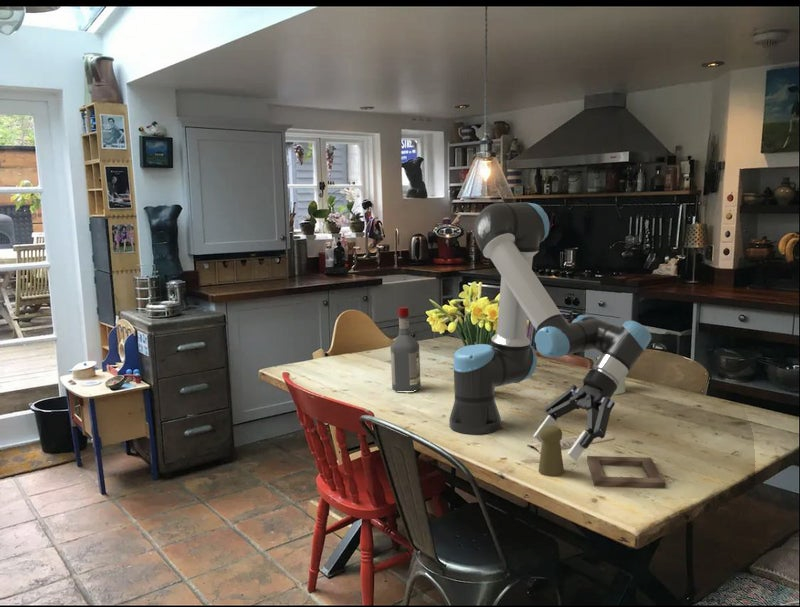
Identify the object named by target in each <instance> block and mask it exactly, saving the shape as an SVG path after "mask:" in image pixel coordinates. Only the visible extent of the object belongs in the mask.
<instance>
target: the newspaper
mask: <svg viewBox="0 0 800 607" xmlns="http://www.w3.org/2000/svg"><path fill="white" fill-rule="evenodd" d="M580 435H581V434H578V435H573V436H567V437H562V439H561V440H560V446H561V451H562V450H566V449H571V447H572V446H573V445H574V443H575V442H576V440H577V439H578V438H579V436H580ZM614 440H615V437H614V436H613V435H612V434H611V433H610V432H607V431H606V433H605V437H604V438H600V437H597V438H594V439H593V441H592V442H591V444H597V443H602V442H607V441H614ZM591 444H590V445H591ZM531 446H532V447H534V449H537V452H539V454H540V455H541V447H542V443H541V442H539V441H538V442H536V443H535V442H534V443H530V444H527V445H526V447H529V448H531Z"/></svg>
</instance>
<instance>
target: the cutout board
mask: <svg viewBox="0 0 800 607" xmlns="http://www.w3.org/2000/svg"><path fill="white" fill-rule="evenodd" d="M586 461H587V466H588V469H589V472H590V476H591V478H592V483H593V486H598V487H599V486H600V487H625V488H652V489H653V488H656V489H666V482H665V480H664V478H663V477H662V475H661V473H660V471H659V469H658V467H657V466H656V464H655V463H654V460H653V459H652V457H646V456H645V457H643V456H642V457H641V456H607V455H606V456H604V455H602V456H600V455H598V456H597V455H587V456H586ZM602 466H627V467H630V466H632V467H633V466H634V467H635V466H636V467H641V468H642V469H643V470H644V472H645V475H646V477H637V476H636V477H635V476H634V477H633V476H605V474H604V472H603V471H604V470H603V468H602Z"/></svg>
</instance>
